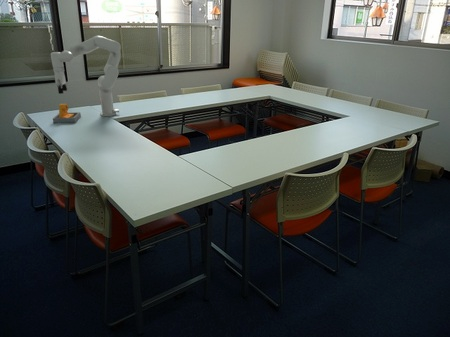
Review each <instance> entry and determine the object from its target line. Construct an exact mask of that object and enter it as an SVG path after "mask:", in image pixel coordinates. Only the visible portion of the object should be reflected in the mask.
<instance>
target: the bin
mask: <svg viewBox="0 0 450 337" xmlns="http://www.w3.org/2000/svg"><path fill="white" fill-rule="evenodd" d="M68 114H74V117H73V118H59V113H57V114H56V115H55V116H54V117H53V118H52V123H53V124H77V123H78V121H80V119H81V118H82V114H81V112H78V111H77V112H75V111H74V112H72V111H71V112H68Z"/></svg>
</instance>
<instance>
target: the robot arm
mask: <svg viewBox="0 0 450 337" xmlns="http://www.w3.org/2000/svg"><path fill="white" fill-rule="evenodd" d="M98 49H102V50H106V51H108V52H109V57H108V59H107V61H106V64H105V65H104V67H103V72H104V75H100V76H99V77H98V79H97V87H98V91H99V99H100V106H101V113H100V116H102V117H112V116H113V117H114V116H115V115H117V113H120V110H119V109H115V107H114V101H113V100H114V99H113V91H112V89H113V88H114V86H115V83H116V81H117V79H118V76H119V68H118V66H119V64H120V61H121V58H122V57H121V56H122V54H121V49H122V45H121V43H119V42H118V41H117V40H112V39H110V38H107V37H104V36H101V35H95V36H93V37H91V38H89V39H87V40H84V41H82V42H80V43H78V44H75V45H73V46H70V47H69V48H66V49H65V50H62V51H61V52H60V51H53V52H51V53H50V58H51V65H52V70H53V73H54V82H55V85H56V86H57V90H58V94H64V91H65V92H67V91H68V88H67V80H66V75H65V67H64V66H65V65H64V63H71V62H73V61H74V58H75V57H77V56H78V57H79V56H81V55H86V54H90V53H91V52H93V51H95V50H98Z"/></svg>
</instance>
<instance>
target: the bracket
mask: <svg viewBox="0 0 450 337" xmlns="http://www.w3.org/2000/svg"><path fill="white" fill-rule="evenodd" d="M58 108H59V109H58V114H59V118H73V117H74V114H68V113H69V112H68V110H69V105H68V104H67V103H59V105H58Z"/></svg>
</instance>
